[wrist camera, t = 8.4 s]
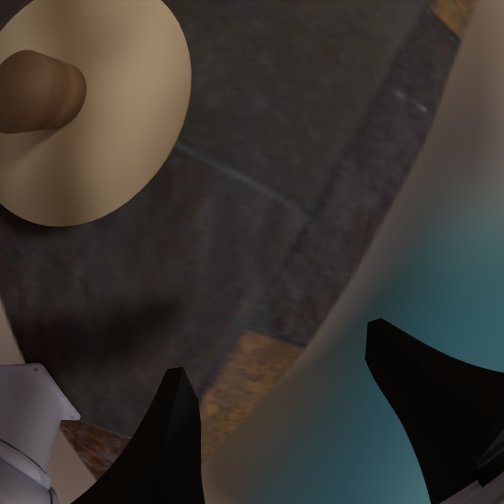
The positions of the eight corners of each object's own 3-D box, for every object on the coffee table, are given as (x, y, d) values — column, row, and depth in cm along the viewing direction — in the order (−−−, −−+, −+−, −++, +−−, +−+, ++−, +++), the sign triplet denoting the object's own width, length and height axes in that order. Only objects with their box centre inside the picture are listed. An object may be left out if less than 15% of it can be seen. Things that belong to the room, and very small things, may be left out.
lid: (7, 245, 13) (-37, 281, 9) (-30, 48, 8) (-77, 41, 4) (215, 186, 13) (219, 211, 10) (172, -44, 9) (164, -92, 5)
